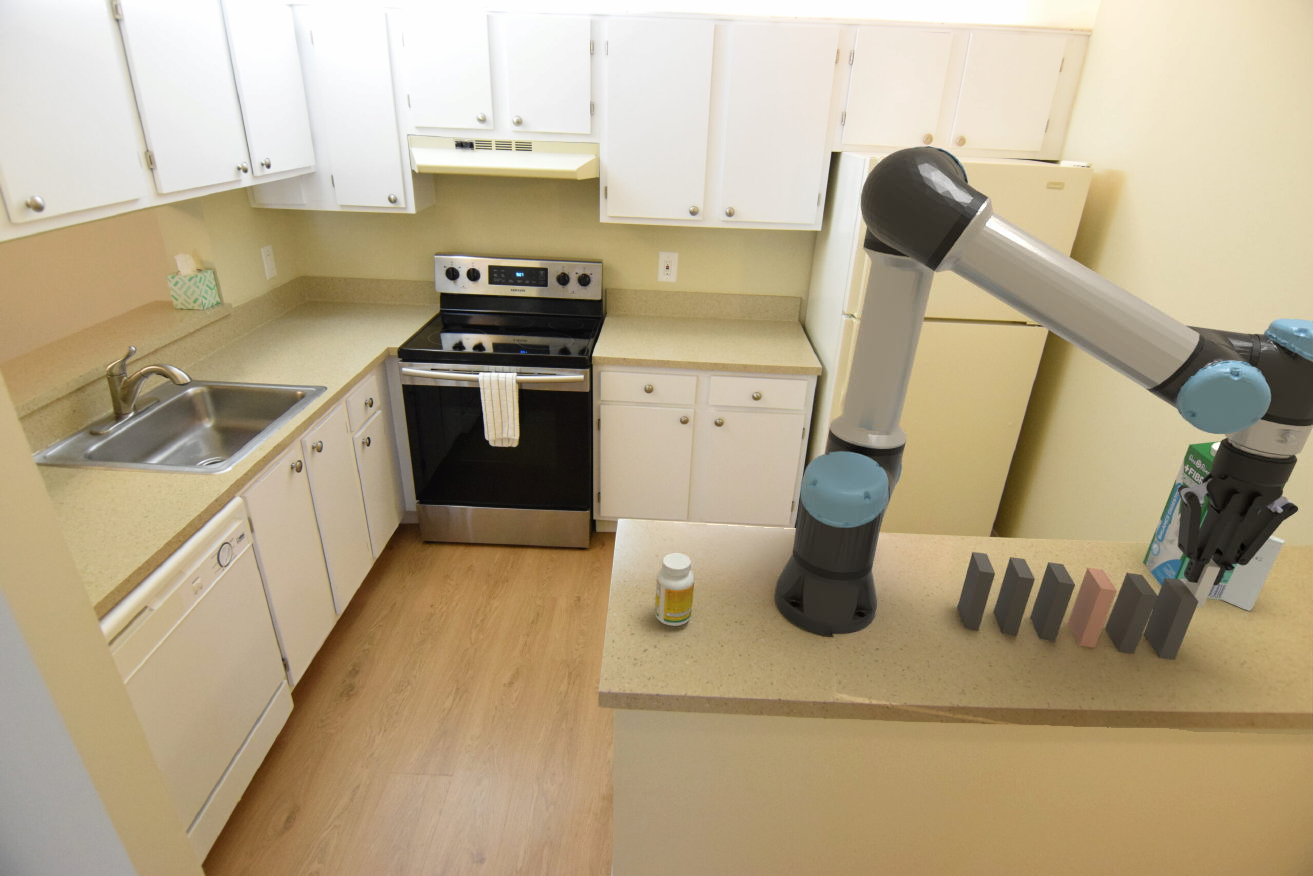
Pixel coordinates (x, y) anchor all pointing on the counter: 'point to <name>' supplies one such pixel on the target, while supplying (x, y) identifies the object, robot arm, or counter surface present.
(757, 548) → the counter surface
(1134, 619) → the domino
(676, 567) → the supplement bottle
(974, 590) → the domino
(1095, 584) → the domino
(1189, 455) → the milk carton
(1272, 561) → the external hard drive
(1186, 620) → the domino
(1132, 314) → the robot arm
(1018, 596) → the domino
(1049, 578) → the domino
